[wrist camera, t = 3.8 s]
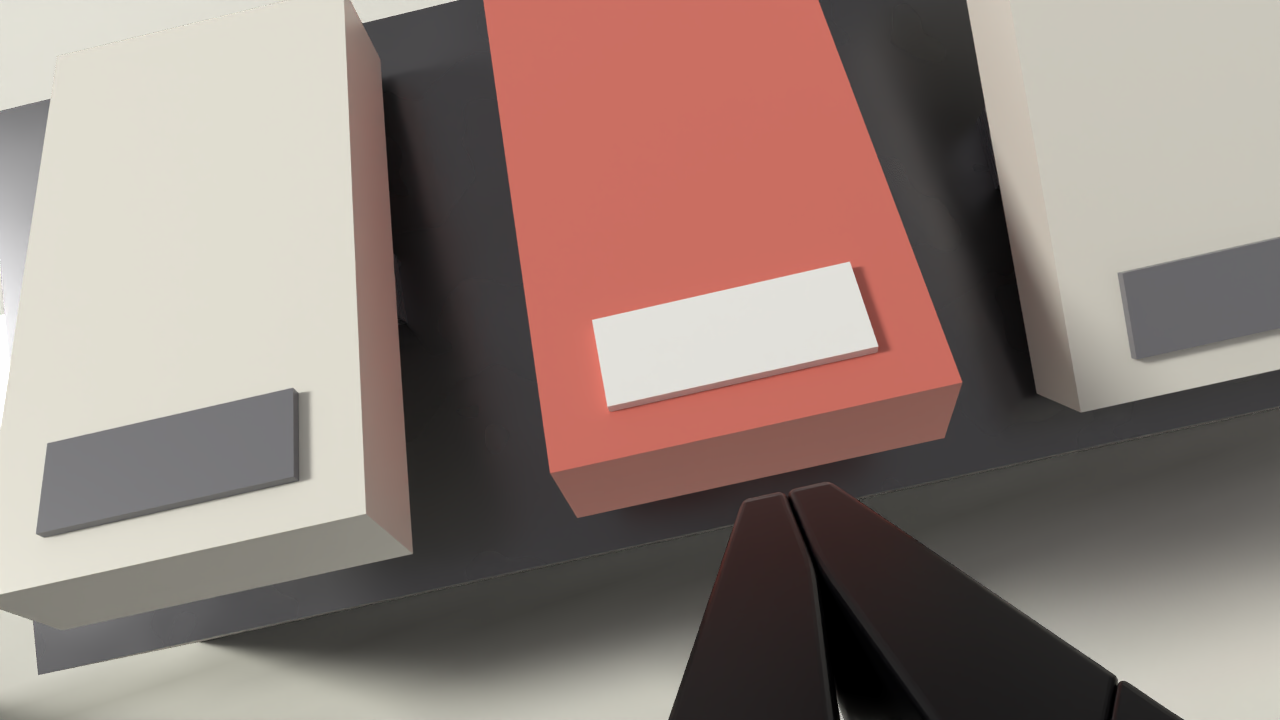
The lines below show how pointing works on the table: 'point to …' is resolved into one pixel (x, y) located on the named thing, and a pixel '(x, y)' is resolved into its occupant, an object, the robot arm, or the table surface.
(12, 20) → the table surface
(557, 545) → the grey cartridge tray
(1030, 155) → the rocker
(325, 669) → the table surface
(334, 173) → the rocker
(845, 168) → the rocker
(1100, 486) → the table surface
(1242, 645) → the table surface
